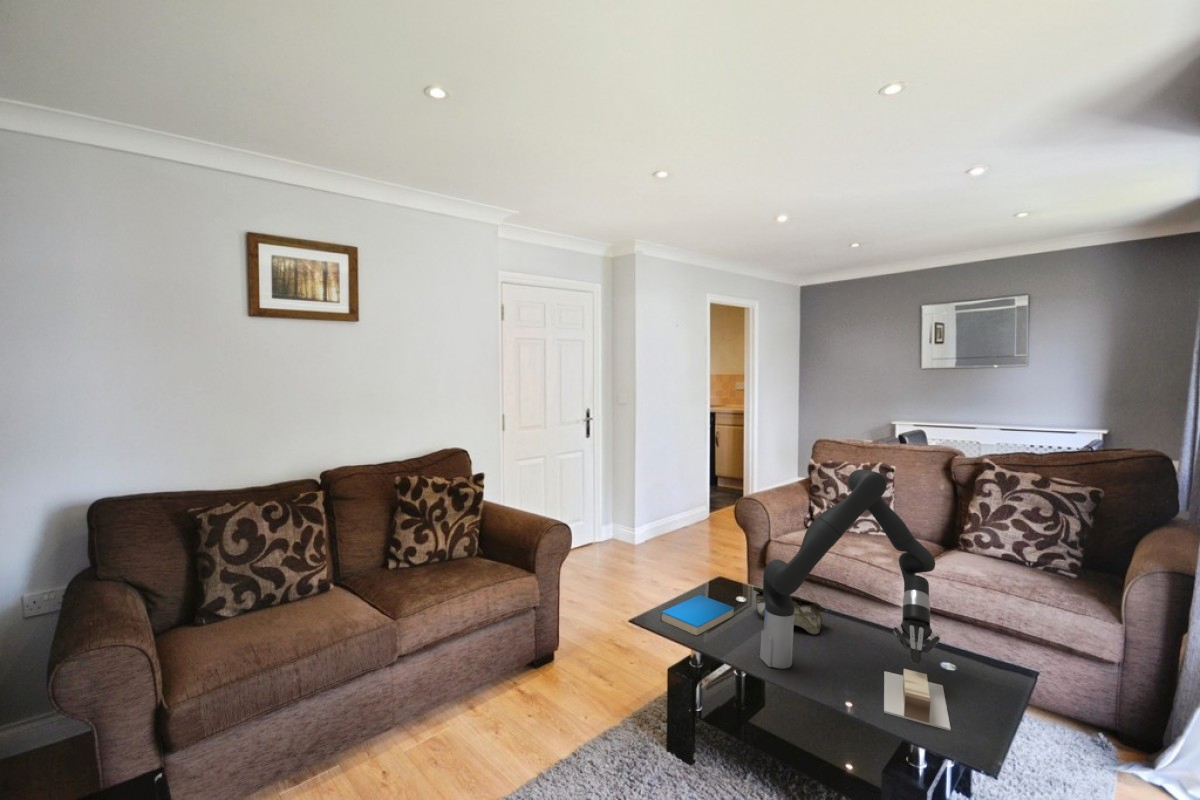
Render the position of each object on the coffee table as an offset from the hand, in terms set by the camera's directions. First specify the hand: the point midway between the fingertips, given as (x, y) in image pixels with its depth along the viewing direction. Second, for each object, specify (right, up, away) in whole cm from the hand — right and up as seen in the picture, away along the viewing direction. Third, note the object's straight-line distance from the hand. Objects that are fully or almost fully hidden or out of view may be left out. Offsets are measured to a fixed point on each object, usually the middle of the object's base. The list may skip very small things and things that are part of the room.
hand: (915, 663), depth 164 cm
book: (-56, -6, +49) cm, 75 cm away
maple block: (+1, -6, +2) cm, 7 cm away
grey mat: (-1, -10, -1) cm, 10 cm away
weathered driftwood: (-22, -7, +48) cm, 54 cm away
